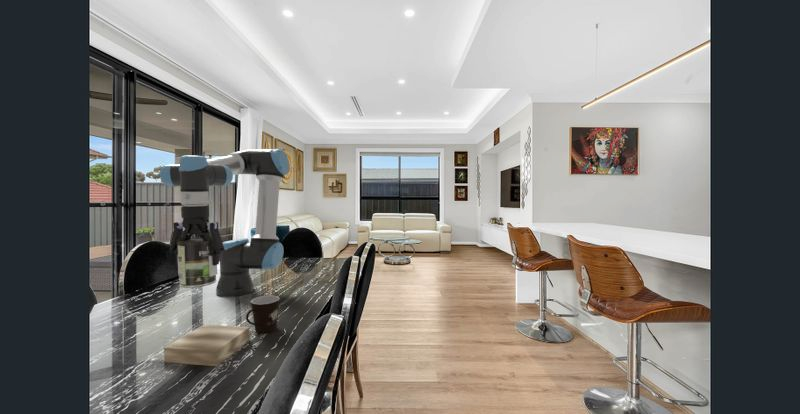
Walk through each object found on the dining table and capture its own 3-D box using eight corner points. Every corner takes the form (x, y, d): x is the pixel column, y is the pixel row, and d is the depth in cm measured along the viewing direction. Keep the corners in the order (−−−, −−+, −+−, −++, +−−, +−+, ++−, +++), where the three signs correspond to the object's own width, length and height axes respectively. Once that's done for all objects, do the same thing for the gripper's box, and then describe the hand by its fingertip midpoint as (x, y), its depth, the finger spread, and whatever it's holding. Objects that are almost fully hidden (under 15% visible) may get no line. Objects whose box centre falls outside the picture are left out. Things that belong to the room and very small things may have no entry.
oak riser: (204, 337, 103) (204, 324, 103) (249, 339, 101) (249, 327, 101) (164, 362, 88) (163, 347, 88) (216, 366, 86) (216, 351, 86)
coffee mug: (273, 322, 114) (272, 293, 114) (284, 329, 108) (284, 299, 108) (237, 332, 106) (237, 301, 106) (247, 341, 100) (247, 308, 100)
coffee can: (223, 279, 110) (222, 237, 109) (199, 289, 100) (197, 243, 99) (197, 277, 112) (195, 236, 111) (170, 287, 102) (168, 241, 101)
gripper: (152, 205, 102) (156, 276, 104) (220, 206, 99) (223, 279, 101) (172, 204, 110) (175, 270, 111) (235, 204, 107) (238, 272, 108)
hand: (198, 274), depth 106 cm, fingers closed on coffee can, 10 cm apart
